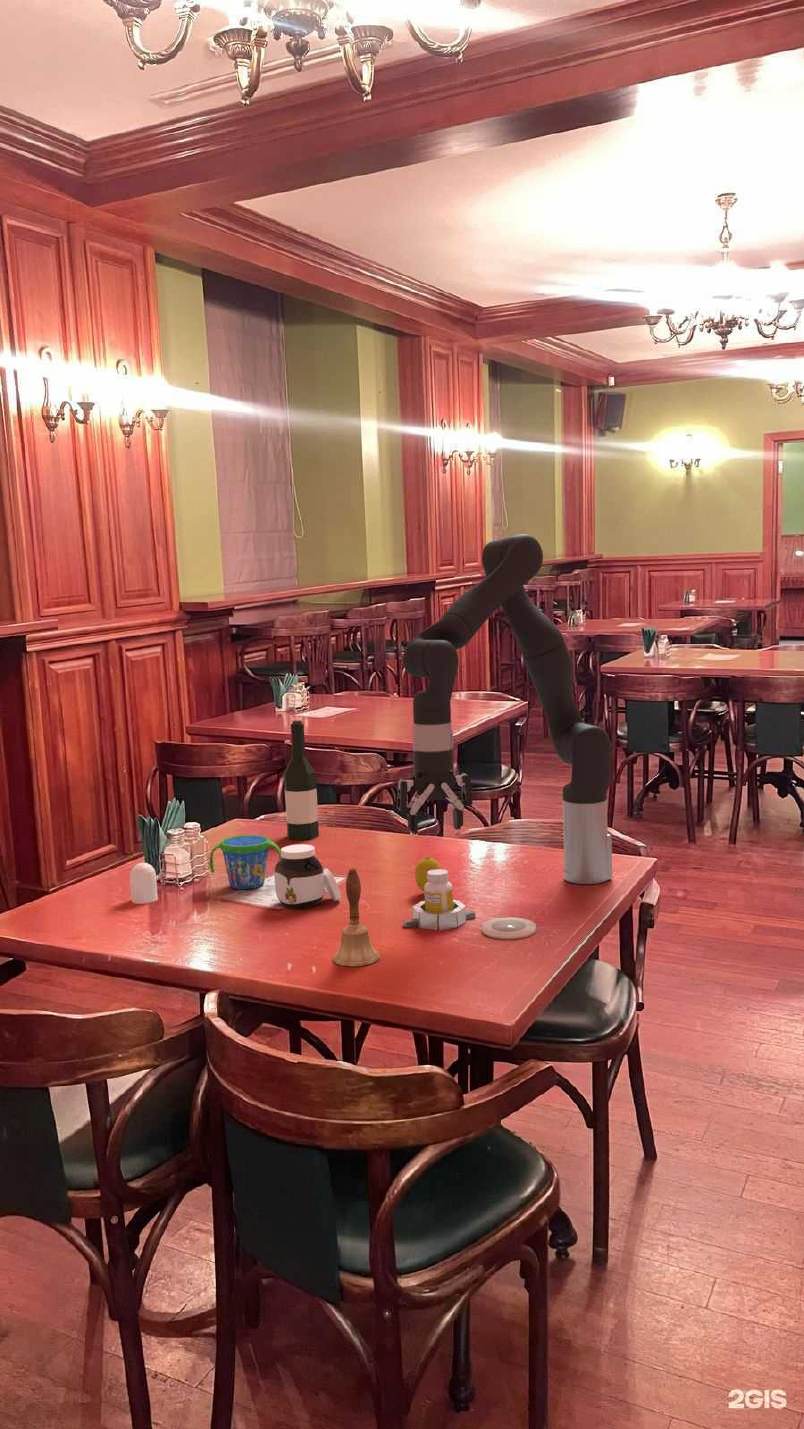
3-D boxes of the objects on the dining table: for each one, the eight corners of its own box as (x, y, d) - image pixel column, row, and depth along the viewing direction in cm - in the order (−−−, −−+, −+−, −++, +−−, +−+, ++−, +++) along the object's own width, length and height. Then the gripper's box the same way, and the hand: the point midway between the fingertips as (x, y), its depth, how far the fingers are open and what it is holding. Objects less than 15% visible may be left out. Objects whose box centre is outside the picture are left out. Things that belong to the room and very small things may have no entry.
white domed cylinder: (151, 904, 231) (148, 866, 230) (127, 903, 232) (124, 866, 231) (161, 896, 236) (159, 859, 235) (138, 896, 238) (135, 859, 236)
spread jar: (270, 904, 228) (267, 848, 226) (311, 891, 236) (308, 837, 234) (309, 914, 219) (306, 857, 218) (350, 900, 228) (348, 845, 226)
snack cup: (287, 878, 246) (284, 833, 245) (278, 892, 236) (275, 845, 235) (217, 879, 248) (214, 835, 246) (206, 893, 237) (203, 847, 236)
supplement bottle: (448, 915, 215) (446, 866, 214) (458, 923, 210) (456, 873, 209) (421, 919, 213) (419, 870, 212) (431, 927, 208) (429, 877, 207)
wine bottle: (283, 840, 281) (276, 723, 278) (291, 832, 290) (285, 718, 286) (315, 840, 280) (308, 722, 276) (322, 832, 288) (316, 718, 284)
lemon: (440, 898, 227) (438, 860, 226) (413, 897, 228) (411, 859, 227) (444, 890, 232) (443, 853, 231) (418, 890, 233) (416, 852, 232)
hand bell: (332, 952, 197) (327, 865, 195) (378, 949, 198) (374, 862, 196) (333, 968, 189) (328, 877, 187) (381, 965, 190) (377, 874, 188)
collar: (465, 910, 218) (464, 895, 218) (483, 923, 209) (482, 908, 209) (397, 919, 214) (396, 904, 214) (412, 934, 205) (411, 918, 205)
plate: (522, 918, 211) (522, 914, 211) (544, 934, 202) (544, 929, 202) (473, 925, 208) (473, 921, 208) (493, 942, 199) (493, 937, 199)
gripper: (461, 740, 213) (464, 823, 215) (390, 746, 209) (393, 830, 211) (475, 746, 206) (478, 831, 208) (402, 752, 202) (405, 839, 204)
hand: (435, 831), depth 209 cm, fingers open, 8 cm apart
